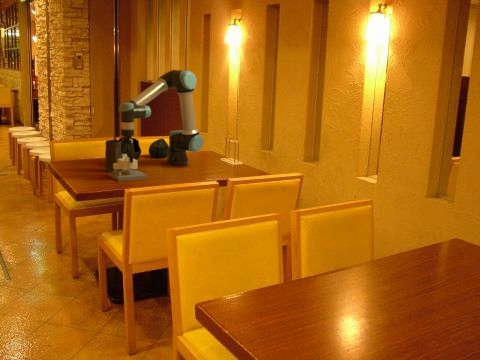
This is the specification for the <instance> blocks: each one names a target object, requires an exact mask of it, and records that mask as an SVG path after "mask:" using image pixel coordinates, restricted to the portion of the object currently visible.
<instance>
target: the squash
mask: <svg viewBox="0 0 480 360" xmlns="http://www.w3.org/2000/svg"><path fill="white" fill-rule="evenodd" d="M148 154H149V155H150V156H149V157H152V158H154V159H155V158H162V159H165V158H167V157H168V155H169V143H168V142H167V141H166V140H165V139H164V138H159V139H157V140H154V141H153V142H151V144H150V145H149V146H148Z"/></svg>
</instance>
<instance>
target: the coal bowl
mask: <svg viewBox="0 0 480 360" xmlns="http://www.w3.org/2000/svg"><path fill="white" fill-rule="evenodd" d="M122 137H124V136H122ZM131 138H132V140H134V151H135V156H134V157H133V159H135V160H139V159H140V157H141V155H142V149H141V147H140V143H139V139H137V138H134V137H131ZM118 140H120V141H122V140H121V137H120V138H119V139H118ZM128 156H129V153H128V148H127V157H128Z"/></svg>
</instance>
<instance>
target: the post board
mask: <svg viewBox="0 0 480 360" xmlns="http://www.w3.org/2000/svg"><path fill="white" fill-rule="evenodd" d="M125 161H128V157H125ZM108 176H109V177H111V178H112V179H114V180H115V181H117V182H123V181H124V182H126V181H133V180H134V181H135V180H142V179H143V180H145V179H147V178H148V174H146V173H144V172H141V171H140V170H137V169H127V170H123V171H119V172H117V170H114V172H109V173H108ZM125 180H126V181H125Z"/></svg>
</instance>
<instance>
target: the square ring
mask: <svg viewBox="0 0 480 360" xmlns="http://www.w3.org/2000/svg"><path fill="white" fill-rule="evenodd" d="M138 160H139V159H138ZM138 160H135V159H133V168H129V163H128V161H125V158H123V159H118V163H114V164H113V169H123V171H125V170H127V169H130V170H137V169H138Z"/></svg>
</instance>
